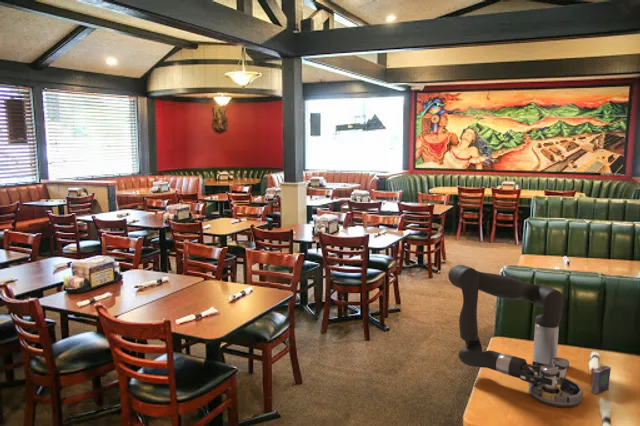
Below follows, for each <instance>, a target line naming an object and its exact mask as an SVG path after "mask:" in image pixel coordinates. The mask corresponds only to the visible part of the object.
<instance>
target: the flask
mask: <svg viewBox="0 0 640 426" xmlns="http://www.w3.org/2000/svg"><path fill="white" fill-rule="evenodd" d="M598 365H599V366H598V367H597V368H595V369H594V370H593V371H592V372H593V373H592V385H591V393H592V394H593V395H596V396H597V395H600V394H602V393H604V392H606V391H609V389H610V388H609V387H610V379H611V378H610V376H611V369H612V368H611V367H610V366H608V365H604V364H603V363H598Z"/></svg>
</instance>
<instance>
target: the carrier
mask: <svg viewBox="0 0 640 426" xmlns="http://www.w3.org/2000/svg"><path fill="white" fill-rule="evenodd" d="M552 365H553V366H555V367H557V368H558V371H559V372H560V376H559V377H556V386H557V393H554V394H551V393H548V392H545V391H544V388H543V383H537V385H535V384H532V383H529V382H527V383H528V384H527V385H528V394H529V395H530V396H531V398H532V399H534V400H535V401H537V402H539V403H540V404H543V405H546V406H548V407H554V408H560V409H562V408H563V409H570V408H572V409H573V408H575V407H578V406H580V405H581V404H582V397H583V394H584V390H583V388H582V386H581V385H580V384H579V383H578V382H576V381H574V380H572V379H571V378H567V369H569V368H570V361H569V360H568V359H567V358H564V357H558V356H557V357H555V358H552ZM540 376H541V377H543V375H540ZM531 381H532V380H531Z"/></svg>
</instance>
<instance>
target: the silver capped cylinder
mask: <svg viewBox="0 0 640 426" xmlns="http://www.w3.org/2000/svg"><path fill="white" fill-rule="evenodd" d="M540 373H541V374H543V377H546V378H549V379H552V380H553V382H552V385H551V386H550V385H546V384H543V388H544V391H545V392H548V393H551V394H554V393H557V386H556V375H558V368H557V367H555V366H551V365H543V366H541V367H540Z"/></svg>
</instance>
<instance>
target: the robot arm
mask: <svg viewBox="0 0 640 426" xmlns="http://www.w3.org/2000/svg"><path fill="white" fill-rule="evenodd" d="M447 275H448V277H447V278H448V280H449V282H450V283H451V284H452V285H453V286H454V287H456V288H458V289H460V290H461V293H462V300H463V301H462V302H463V303H462V308H461V310H460V313H459V317H458V325H459V335H460V339H461V340H463V341H464V342H465V343H464V344H465V346H463V347H462V348H461V349H460V350H459V351H458V358H459V360H460V362H461V363H463V364H464V365H466V366H469V367H473V368H474V367H475V368H481V369H483V368H485V369H489V370H493V371H496V372H499V373H501V374H503V375H506V376H510V377H512V378H515V379H516V378H517V379H518V380H519V379H520V381H524V382H526V383H528V382H529V383H532V384H535V385H537V383H543V384H546V385H550V386H551V385H552V382H553V380H552V379H549V378H546V377H541V376H540V375H543V374H541V373H540V367H541V366H543V365H551V366H553V365H552V358H555V357H558V344H559V328H560V322H561V319H562V315H563V308H564V296H563V293H562V292H561V291H560V290H558V289H556V288H553V287H550V286H548V285H543V284H534V283H528V282H525V281H523V280H521V279H519V278H518V279H517V278H516V277H511V276H507V275H504V274H497V273H489V272H483V271H479V270H476V269H475V268H473V267H470V266H466V265H463V264H458V265H455V266H453V267H451V269H450V270H449V272H448V274H447ZM479 291H481V292H483V293H484V294H485V293H486V294H488V295H491V296H493V297H497V298H500V299H504V300H509V301H518V300H521V301H527V302H529V303H532V304H534V305H536V306H538V307H540V308H543V310H542V314H538V315H536V316H535V319H534V337H533V351H532V361H531V362H532V363H531V364H530V363H527V360H526V359H525V358H523V357H520V356H519V357H518V356H514V355H511V354H507V353H502V352H498V351H495V350H485V351H483V346H482V342H481V340H480V336H479V330H478V302H479V301H478V300H479ZM559 376H560V372H559V371H558V375H556V377H559ZM531 380H532V381H531Z"/></svg>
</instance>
